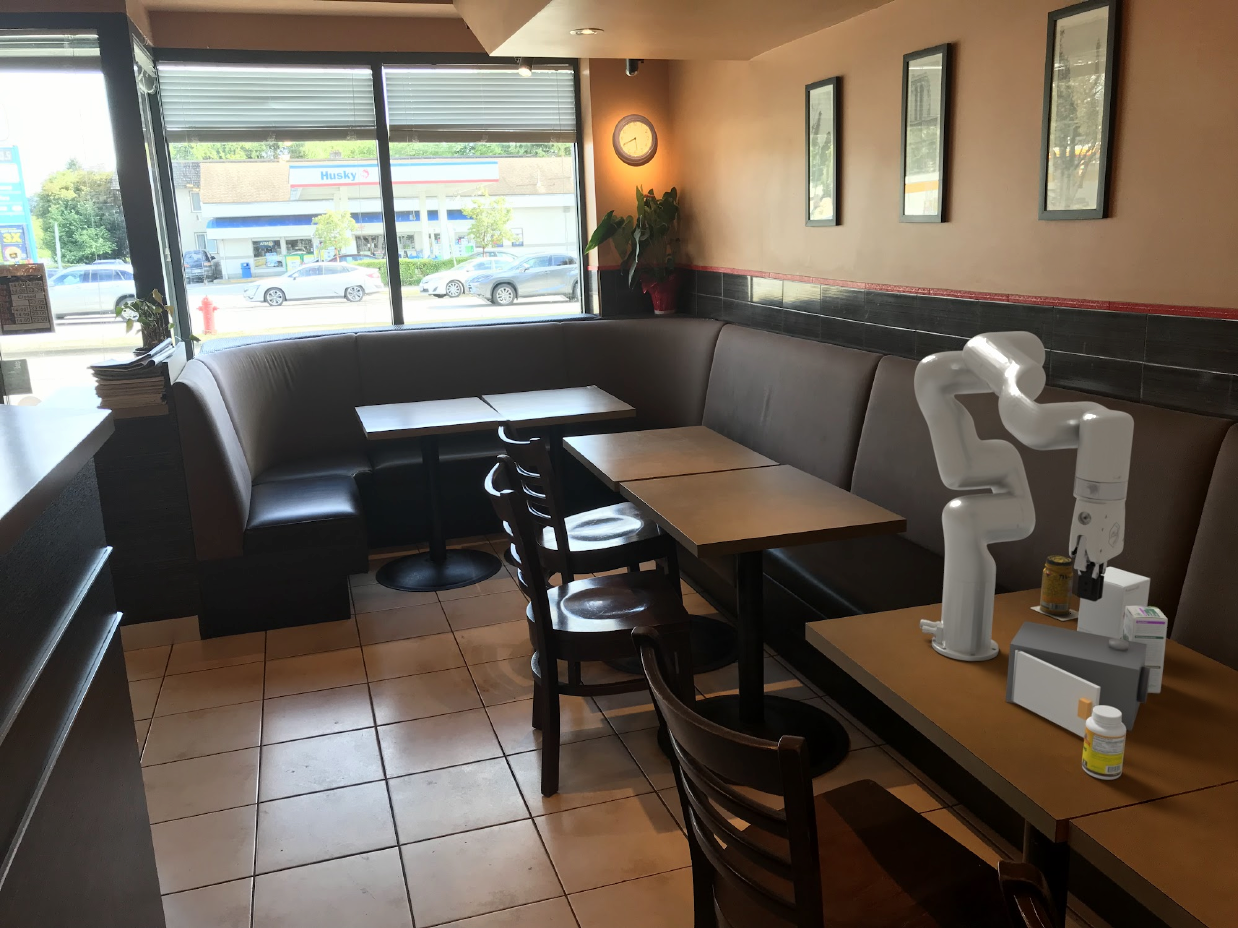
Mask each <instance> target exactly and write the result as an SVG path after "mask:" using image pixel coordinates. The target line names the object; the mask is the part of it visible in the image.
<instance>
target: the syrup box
mask: <svg viewBox="0 0 1238 928" xmlns="http://www.w3.org/2000/svg"><path fill="white" fill-rule="evenodd" d="M1167 627H1168V618H1167V617H1166V615H1164V613H1163V611H1161V609H1159V608H1158V607H1157V606H1151V605H1149V606H1148V605H1147V606H1126V607H1125V617H1124V627H1123V638H1122V639H1123V640H1128V641H1133V642H1138V643H1144V644H1147V648H1146V657H1145V665H1144V667H1148V668H1150V680H1149V688H1148V694H1151V693H1152V694H1160V693H1161V691H1162V688H1161V687H1162V679H1163V670H1164V664H1165V663H1164V661H1165V651H1166V640H1167V631H1168V628H1167Z"/></svg>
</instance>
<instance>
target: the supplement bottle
mask: <svg viewBox="0 0 1238 928" xmlns="http://www.w3.org/2000/svg"><path fill="white" fill-rule="evenodd" d="M1121 718H1122V713H1121V712H1120V711H1119V710H1118V709H1116V708H1114V707H1110V706H1105V705H1099V706H1095V707H1094V708H1093V713H1092V716H1091V717H1089V718H1088V719H1087V720H1086V725H1085V736H1084V738H1083V745H1082V746H1083V748H1082V758H1081V767H1082V769H1083V771H1084V772H1085V773H1086V774H1088V775H1089V776H1091V777H1094V778H1096V779H1101V780H1107V781H1108V780H1110V781H1111V780H1115V779H1118V778H1119V777H1121V775H1122V773H1123V762H1124V754H1125V744H1126V735H1127V730H1126V727H1125V725H1124V724H1123V723H1122V722H1121V721H1122V719H1121Z"/></svg>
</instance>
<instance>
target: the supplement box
mask: <svg viewBox="0 0 1238 928" xmlns="http://www.w3.org/2000/svg"><path fill="white" fill-rule="evenodd" d="M1101 575H1102V574H1101ZM1103 576H1104V585H1103V594H1102V598H1101V599H1098V600H1097V601H1096V602H1094V601H1090V600H1086V599H1082V598H1079V599H1080V600H1079V610H1078V612H1079V617H1077V629H1076V631H1080V632H1086V633H1091V634H1096V635H1101V636H1107V637H1112V638H1117V639H1122V638H1123V627H1124V617H1125V607H1126V606H1148V602H1149V601H1148V600H1149V593H1150V585H1151V577H1146V576H1143V575H1140V574H1136V573H1133V572H1129V571H1126V570H1122V569H1120V568H1116V567H1113V566H1108V567H1107V566H1106V572H1105V574H1104V575H1103Z"/></svg>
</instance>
